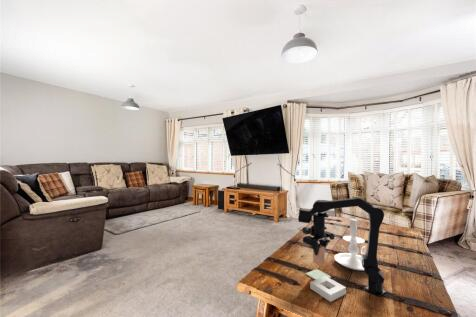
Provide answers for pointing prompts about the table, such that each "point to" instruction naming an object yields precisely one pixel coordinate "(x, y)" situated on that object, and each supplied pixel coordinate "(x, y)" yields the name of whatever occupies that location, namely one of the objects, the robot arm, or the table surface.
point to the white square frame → (329, 294)
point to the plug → (319, 256)
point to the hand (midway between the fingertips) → (318, 254)
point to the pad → (317, 274)
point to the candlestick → (352, 250)
